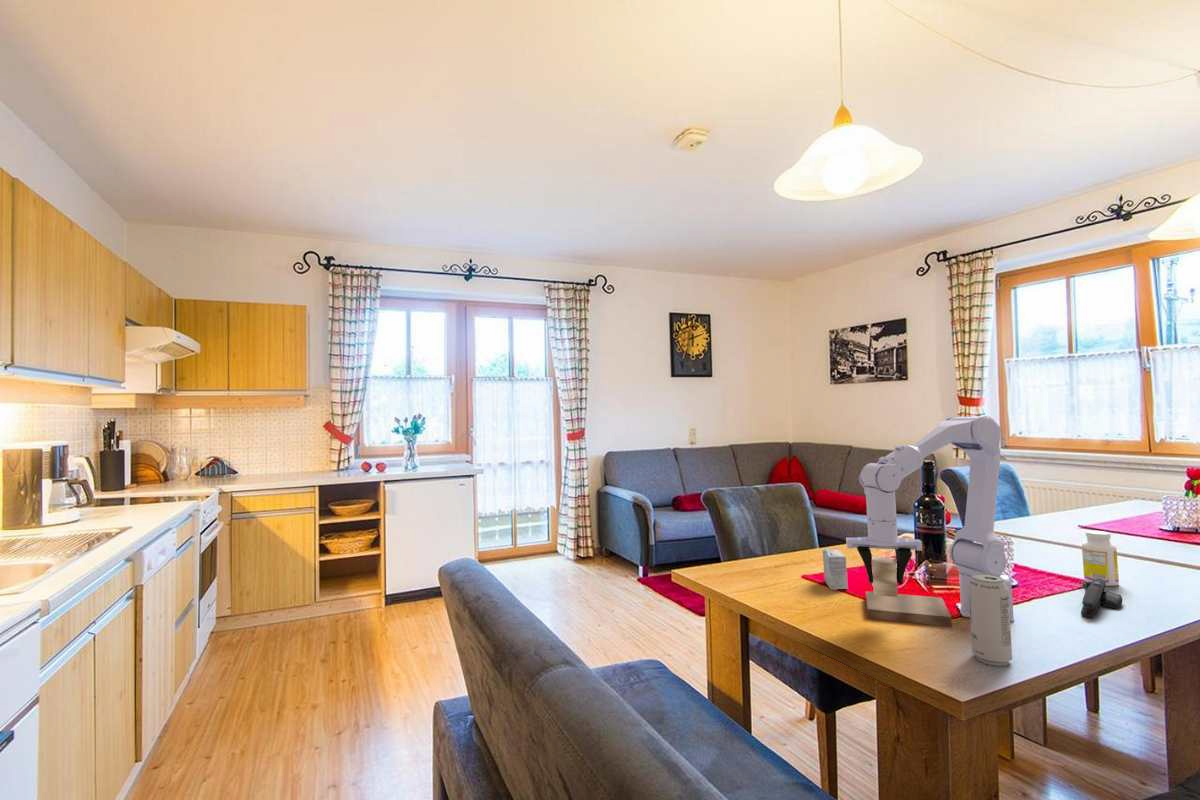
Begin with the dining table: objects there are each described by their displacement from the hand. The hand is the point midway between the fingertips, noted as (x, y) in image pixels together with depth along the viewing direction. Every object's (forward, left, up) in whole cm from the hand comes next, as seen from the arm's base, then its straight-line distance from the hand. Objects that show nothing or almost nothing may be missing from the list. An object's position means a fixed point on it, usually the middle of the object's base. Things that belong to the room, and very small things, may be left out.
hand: (885, 582), depth 120 cm
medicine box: (+11, -26, -9) cm, 29 cm away
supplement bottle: (-51, -46, -9) cm, 70 cm away
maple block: (0, 0, -2) cm, 2 cm away
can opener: (-43, -24, -10) cm, 50 cm away
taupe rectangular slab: (-4, -10, -9) cm, 14 cm away
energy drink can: (-16, +12, -9) cm, 23 cm away
